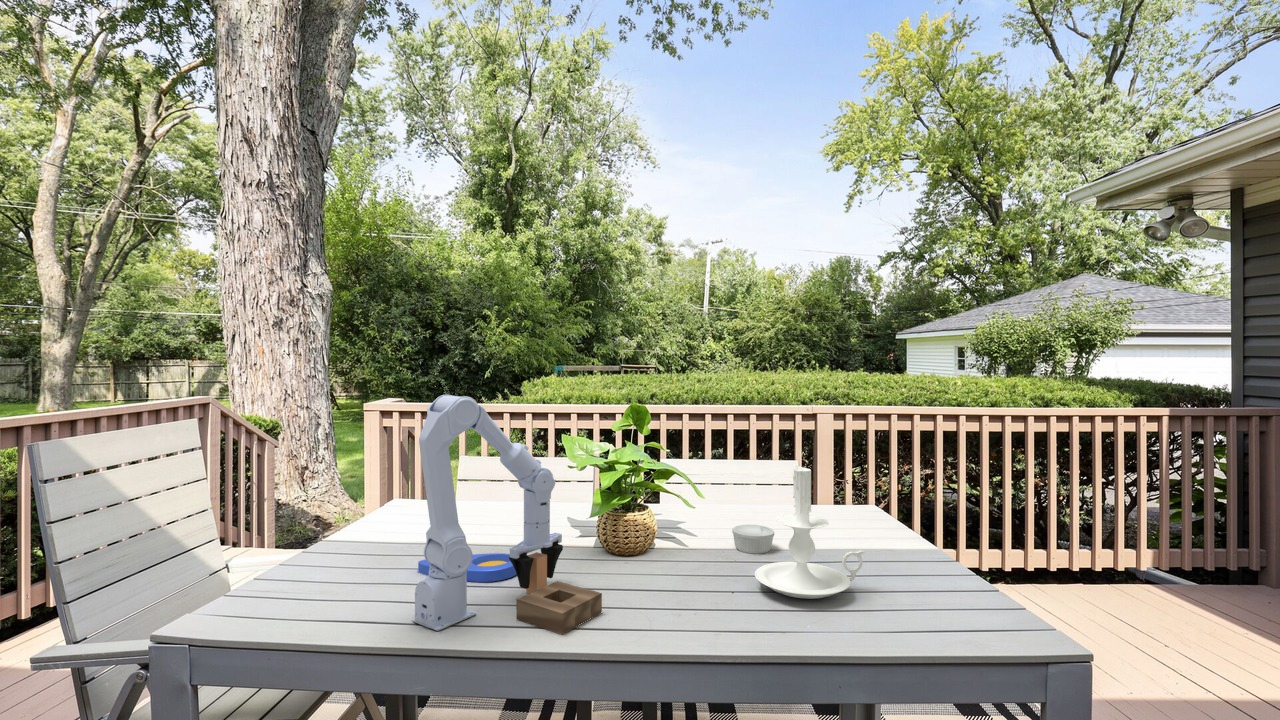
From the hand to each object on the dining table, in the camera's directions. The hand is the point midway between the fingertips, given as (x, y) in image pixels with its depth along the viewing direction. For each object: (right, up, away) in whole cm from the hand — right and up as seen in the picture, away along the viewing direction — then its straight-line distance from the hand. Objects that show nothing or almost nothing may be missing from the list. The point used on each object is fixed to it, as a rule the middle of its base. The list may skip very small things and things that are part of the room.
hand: (536, 582), depth 135 cm
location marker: (-18, -3, +12) cm, 22 cm away
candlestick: (+61, -2, +1) cm, 61 cm away
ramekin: (+54, -2, +31) cm, 62 cm away
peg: (0, -2, 0) cm, 2 cm away
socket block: (+7, -2, -13) cm, 15 cm away
